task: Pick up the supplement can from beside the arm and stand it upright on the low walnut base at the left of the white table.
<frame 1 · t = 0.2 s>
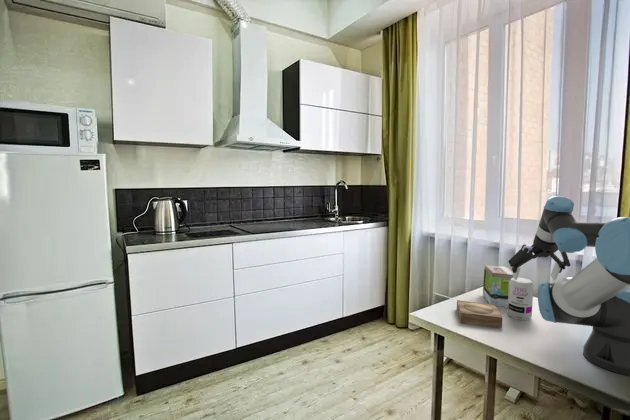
hand: (533, 277, 128), 16 cm above the table, tool tilted 30°, fingers open, 13 cm apart
supplement can: (519, 316, 131), on the table
walnut base: (477, 318, 129), on the table
tea box: (497, 301, 148), on the table
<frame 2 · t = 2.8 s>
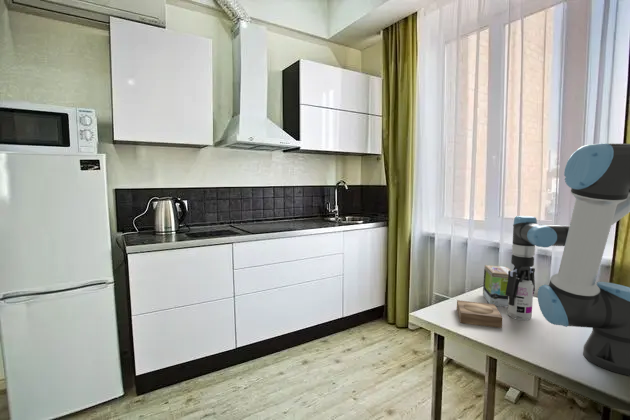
hand: (519, 311, 131), 2 cm above the table, tool pointing down, fingers closed on supplement can, 8 cm apart
supplement can: (519, 317, 131), on the table, touching gripper
everything else where it was.
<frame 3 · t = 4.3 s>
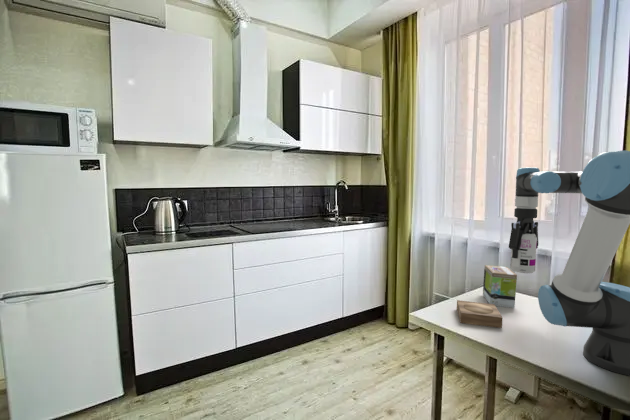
hand: (522, 265, 129), 21 cm above the table, tool pointing down, fingers closed on supplement can, 8 cm apart
supplement can: (522, 271, 129), point 19 cm above the table, touching gripper
everything else where it was.
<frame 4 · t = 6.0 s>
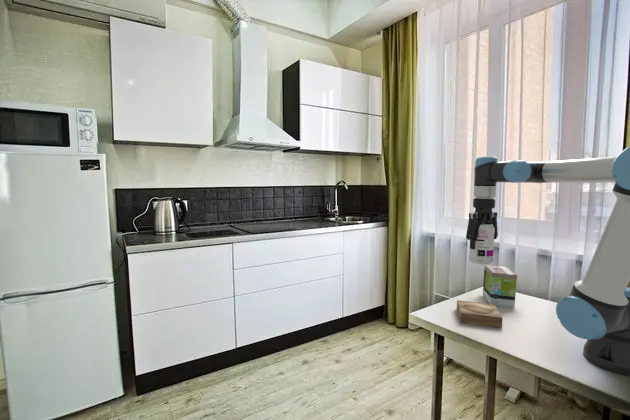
hand: (481, 256, 127), 25 cm above the table, tool pointing down, fingers closed on supplement can, 8 cm apart
supplement can: (480, 262, 127), point 22 cm above the table, touching gripper
everything else where it was.
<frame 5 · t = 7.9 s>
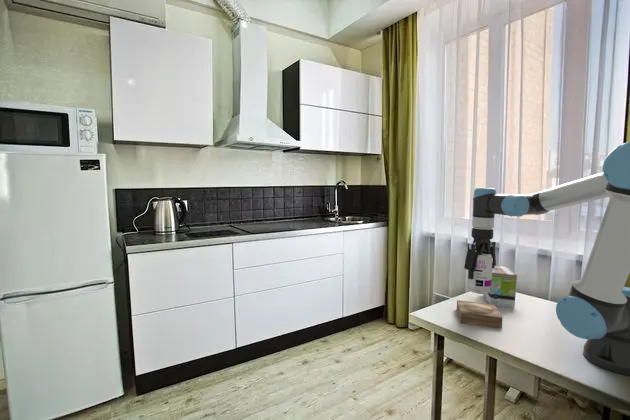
hand: (479, 285, 128), 13 cm above the table, tool pointing down, fingers closed on supplement can, 8 cm apart
supplement can: (478, 291, 128), point 11 cm above the table, touching gripper
everything else where it was.
when the fingers open (8 cm above the table, at t = 9.5 s): supplement can drops 1 cm, resting on walnut base.
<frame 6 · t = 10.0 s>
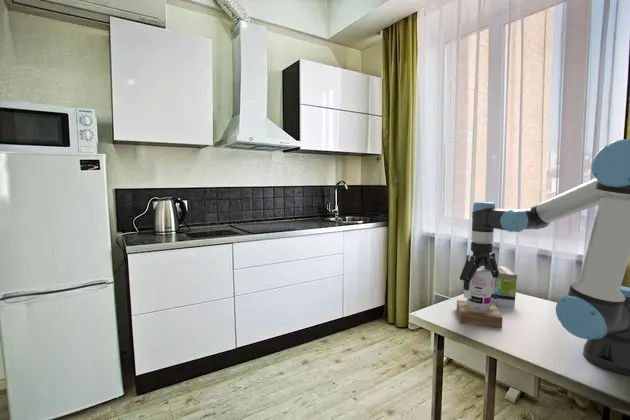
hand: (478, 295, 128), 9 cm above the table, tool pointing down, fingers open, 13 cm apart
supplement can: (478, 308, 129), point 4 cm above the table, touching walnut base
everything else where it was.
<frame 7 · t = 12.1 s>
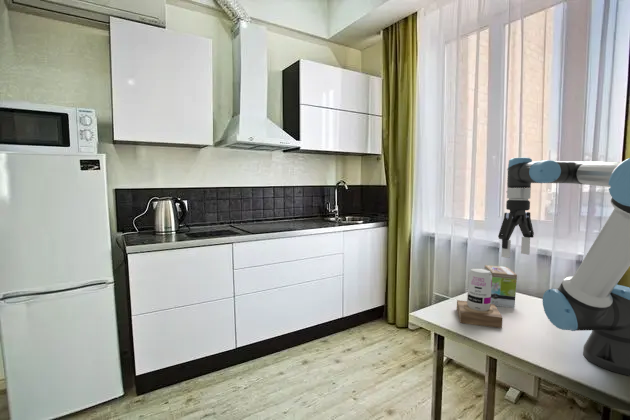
hand: (515, 255, 124), 26 cm above the table, tool pointing down, fingers open, 13 cm apart
nothing on the table moved.
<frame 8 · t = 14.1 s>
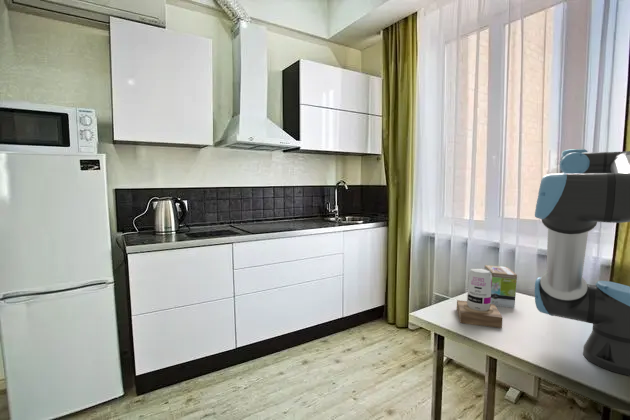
hand: (567, 250, 121), 29 cm above the table, tool pointing down, fingers open, 13 cm apart
nothing on the table moved.
at the end: supplement can 0.0 cm from the walnut base (horizontally); supplement can point 4.0 cm above the table; supplement can tilted 0° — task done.
